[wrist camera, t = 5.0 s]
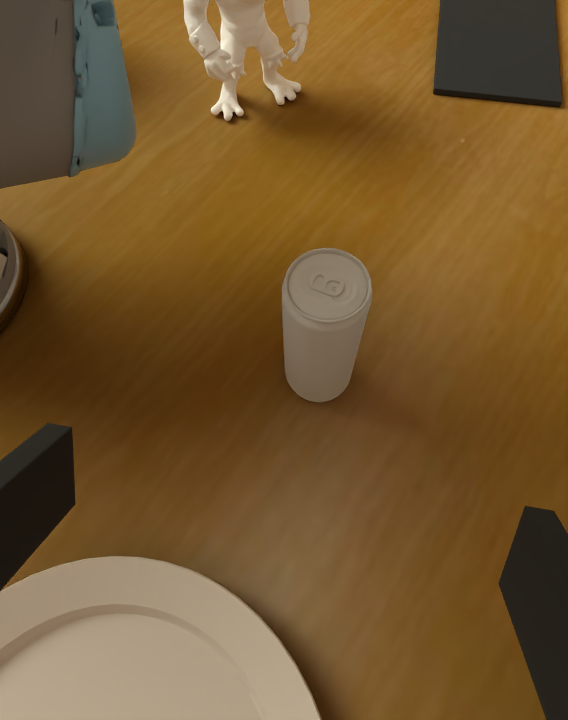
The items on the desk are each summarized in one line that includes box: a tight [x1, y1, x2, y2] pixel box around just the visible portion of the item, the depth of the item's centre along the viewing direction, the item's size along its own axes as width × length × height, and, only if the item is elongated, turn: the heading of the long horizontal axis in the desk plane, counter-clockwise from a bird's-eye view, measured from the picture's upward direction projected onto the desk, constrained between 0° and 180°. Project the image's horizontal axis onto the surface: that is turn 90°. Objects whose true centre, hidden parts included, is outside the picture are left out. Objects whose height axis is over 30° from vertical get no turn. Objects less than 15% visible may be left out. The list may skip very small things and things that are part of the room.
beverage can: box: [282, 248, 372, 402], centre depth 31 cm, size 5×5×12 cm
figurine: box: [184, 0, 310, 121], centre depth 42 cm, size 11×7×15 cm, turn 112°
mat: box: [433, 0, 562, 107], centre depth 52 cm, size 22×12×1 cm, turn 170°
